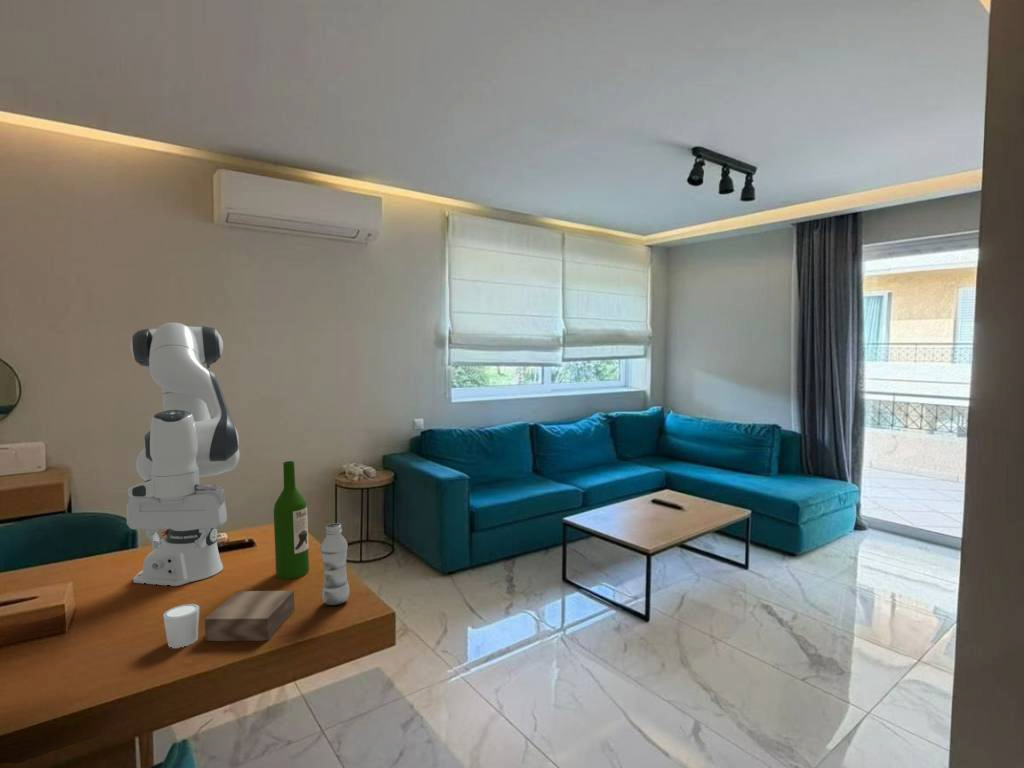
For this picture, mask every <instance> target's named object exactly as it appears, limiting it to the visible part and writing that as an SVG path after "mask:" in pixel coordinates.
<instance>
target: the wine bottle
mask: <svg viewBox="0 0 1024 768" xmlns="http://www.w3.org/2000/svg"><path fill="white" fill-rule="evenodd" d="M282 465H283V490H282V491H281V492H280V494H279V496H278V498H277V500H276V501H275V502H274V505H273V506H274V507H273V527H274V528H273V530H274V551H275V552H274V555H275V558H274V559H275V575H276V577H277V579H280V580H294V579H293V578H295V579H298V578H297V577H299V578H301V577H300V576H302V577H304V576H306V575H307V574H309V572H308V571H310V554H309V529H308V527H309V526H308V525H309V524H308V523H309V522H308V505H307V501H306V500H305V498H304V497H303V495H302V494H301V493H300V491H299V490H298V488H297V486H296V471H295V461H292V460H291V461H290V460H289V461H284V462H283V463H282ZM306 573H307V574H306ZM305 574H306V575H305ZM303 575H304V576H303Z"/></svg>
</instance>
